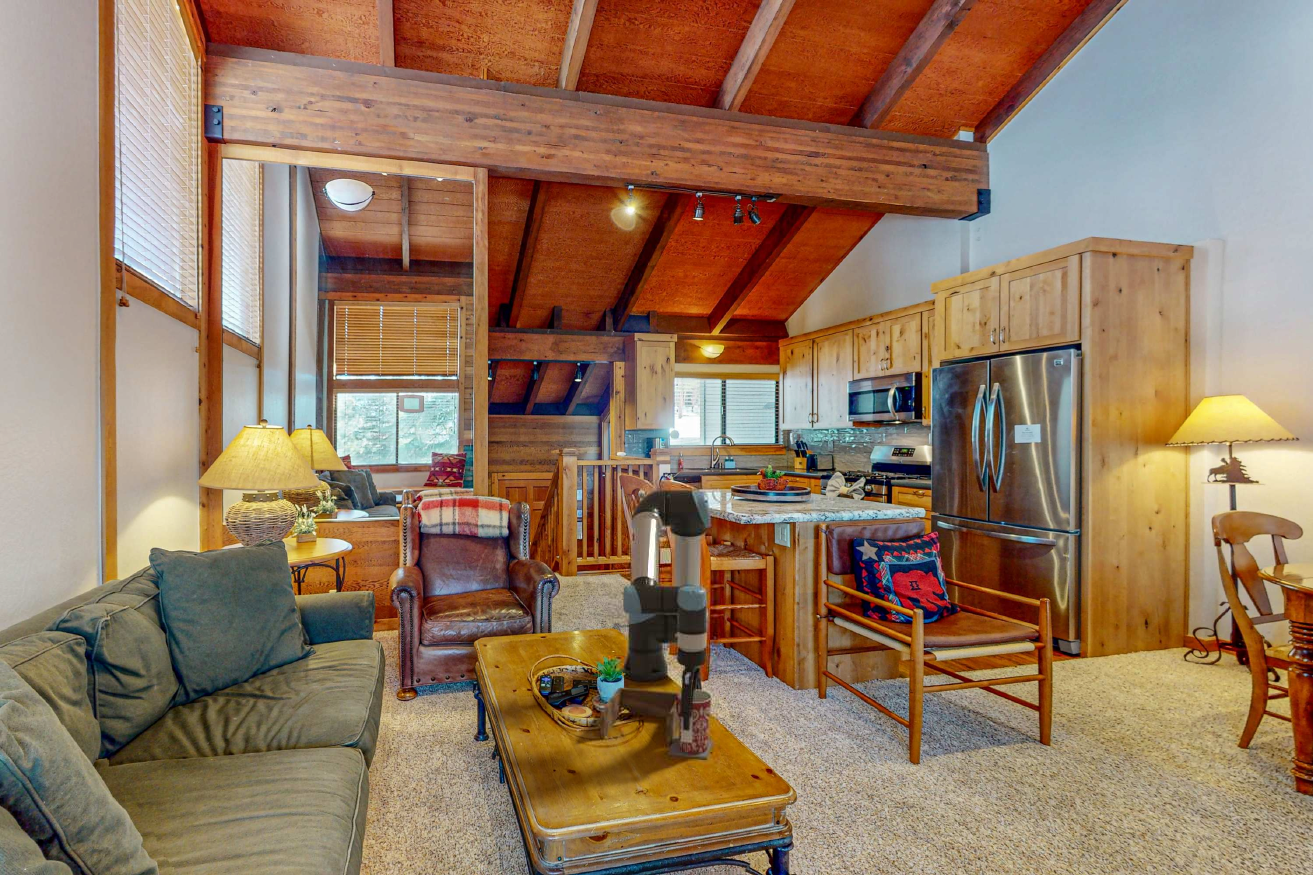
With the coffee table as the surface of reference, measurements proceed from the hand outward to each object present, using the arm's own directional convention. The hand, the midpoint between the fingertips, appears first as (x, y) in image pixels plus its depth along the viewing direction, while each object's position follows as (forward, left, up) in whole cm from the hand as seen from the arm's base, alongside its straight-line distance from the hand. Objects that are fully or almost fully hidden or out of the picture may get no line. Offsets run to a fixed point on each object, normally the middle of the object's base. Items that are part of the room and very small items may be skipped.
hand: (691, 731), depth 177 cm
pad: (0, 0, -4) cm, 4 cm away
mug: (0, 0, -4) cm, 4 cm away
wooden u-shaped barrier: (-9, -15, -4) cm, 18 cm away
